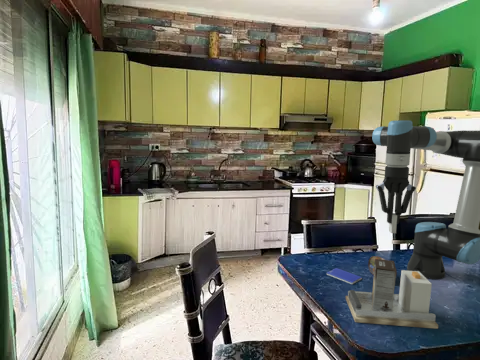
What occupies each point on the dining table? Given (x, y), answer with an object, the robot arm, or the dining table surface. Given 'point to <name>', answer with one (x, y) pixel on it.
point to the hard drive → (344, 276)
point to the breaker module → (414, 292)
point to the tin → (372, 263)
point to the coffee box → (383, 284)
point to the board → (391, 322)
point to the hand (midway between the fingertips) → (392, 232)
